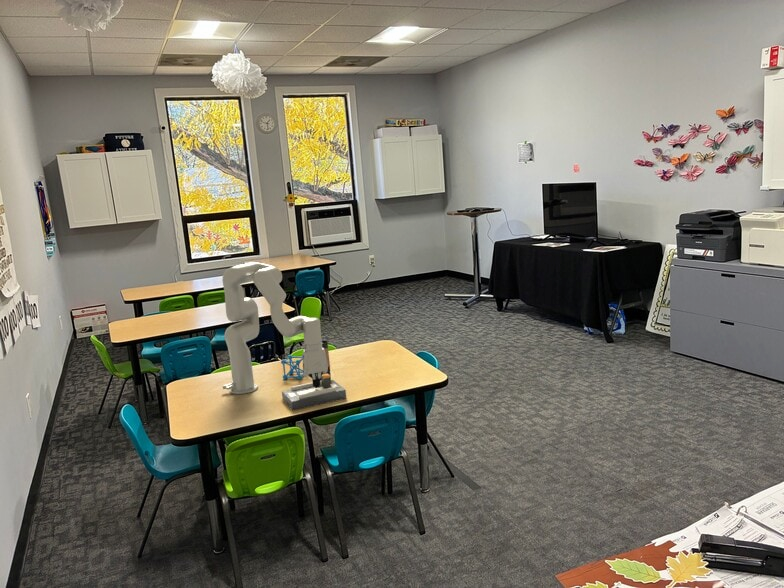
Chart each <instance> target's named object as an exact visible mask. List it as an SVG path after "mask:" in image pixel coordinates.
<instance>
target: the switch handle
mask: <svg viewBox="0 0 784 588" xmlns="http://www.w3.org/2000/svg"><path fill="white" fill-rule="evenodd" d="M321 381H322V387H323V388H329V387H331V384H330V375H329V374H328V373H327V374H323V375H322V376H321Z"/></svg>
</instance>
